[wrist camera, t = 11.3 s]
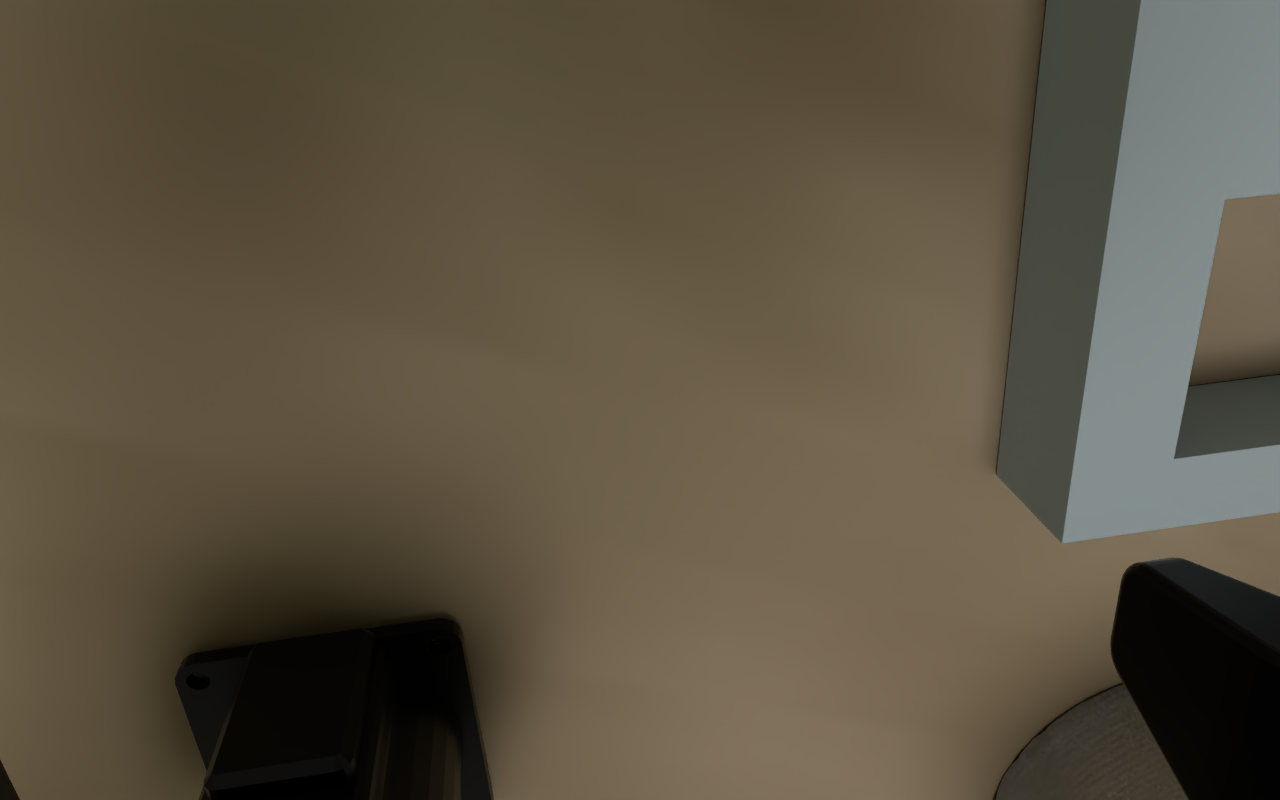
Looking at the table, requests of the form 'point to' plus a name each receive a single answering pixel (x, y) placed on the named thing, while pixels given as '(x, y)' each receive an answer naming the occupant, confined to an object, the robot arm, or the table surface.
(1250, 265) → the table surface
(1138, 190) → the socket block
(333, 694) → the robot arm
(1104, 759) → the pillar candle
